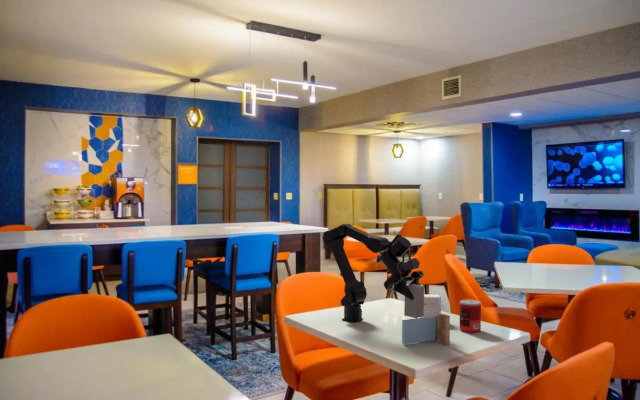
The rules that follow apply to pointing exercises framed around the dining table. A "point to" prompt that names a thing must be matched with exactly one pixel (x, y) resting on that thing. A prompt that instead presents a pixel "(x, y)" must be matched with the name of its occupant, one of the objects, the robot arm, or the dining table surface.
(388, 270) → the robot arm
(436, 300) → the small box
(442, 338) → the brown wooden block
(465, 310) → the canned food
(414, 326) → the gate
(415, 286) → the block
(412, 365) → the dining table surface
